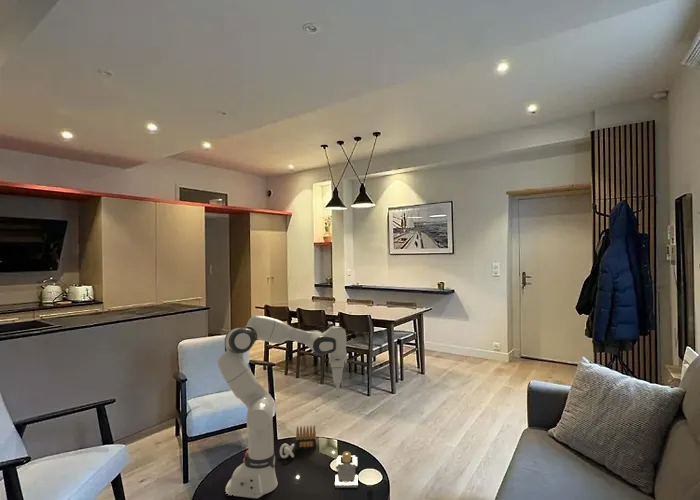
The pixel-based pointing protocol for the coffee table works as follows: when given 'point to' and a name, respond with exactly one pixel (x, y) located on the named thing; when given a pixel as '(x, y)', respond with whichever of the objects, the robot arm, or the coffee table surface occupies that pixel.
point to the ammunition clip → (306, 438)
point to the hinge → (346, 474)
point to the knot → (287, 450)
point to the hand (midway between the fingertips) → (338, 386)
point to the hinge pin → (346, 457)
